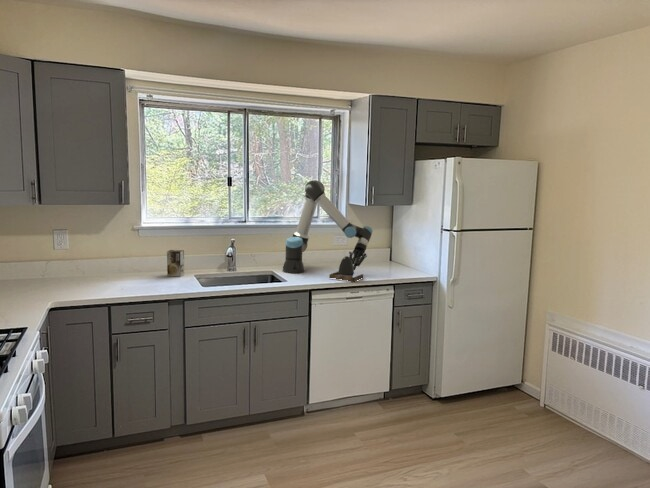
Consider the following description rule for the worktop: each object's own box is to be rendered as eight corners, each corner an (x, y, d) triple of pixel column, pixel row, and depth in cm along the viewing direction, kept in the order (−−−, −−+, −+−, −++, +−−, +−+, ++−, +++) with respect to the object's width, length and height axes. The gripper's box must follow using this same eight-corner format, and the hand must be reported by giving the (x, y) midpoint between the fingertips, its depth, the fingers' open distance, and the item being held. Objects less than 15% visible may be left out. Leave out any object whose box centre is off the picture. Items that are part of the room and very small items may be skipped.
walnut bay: (329, 278, 315) (329, 274, 314) (338, 275, 327) (339, 271, 327) (354, 282, 306) (354, 277, 306) (363, 278, 319) (363, 274, 318)
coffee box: (184, 274, 311) (184, 250, 309) (180, 276, 304) (180, 251, 302) (171, 274, 312) (170, 249, 310) (166, 276, 305) (166, 251, 303)
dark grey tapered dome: (354, 281, 311) (355, 257, 309) (338, 280, 310) (339, 257, 308) (353, 277, 321) (354, 255, 319) (337, 277, 320) (338, 254, 318)
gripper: (371, 250, 333) (360, 277, 321) (354, 248, 339) (343, 275, 327) (368, 243, 327) (357, 271, 315) (351, 241, 333) (339, 268, 321)
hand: (350, 273), depth 321 cm, fingers closed
